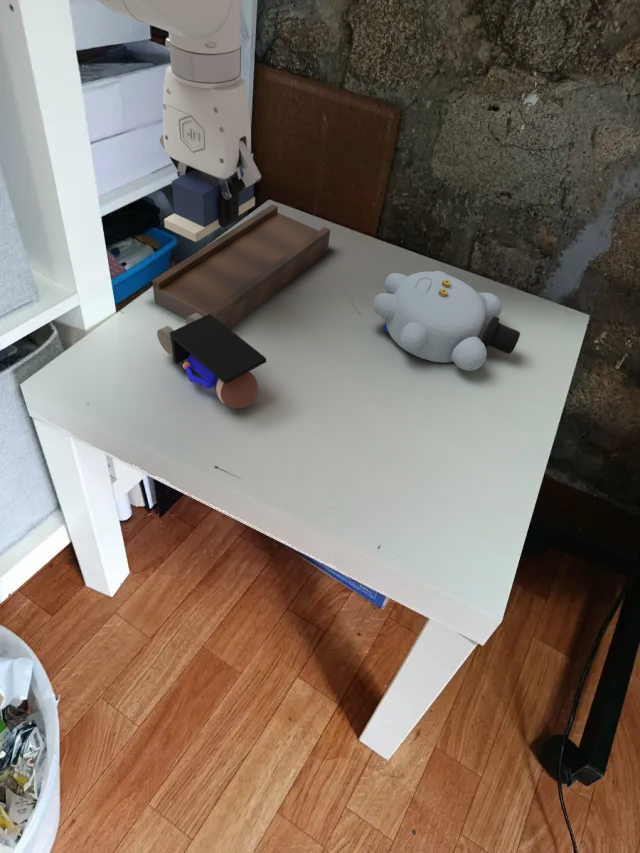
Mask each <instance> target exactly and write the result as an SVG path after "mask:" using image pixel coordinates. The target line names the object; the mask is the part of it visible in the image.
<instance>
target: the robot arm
mask: <svg viewBox="0 0 640 853" xmlns="http://www.w3.org/2000/svg"><path fill="white" fill-rule="evenodd" d="M97 2H98V3H99V4H101V5H102V6H104V7H106V8H107V9H108V10H110V11H112V12H114V13H116V14H118V15H120V16H124V17H126V18H129V19H132V20H134V21H137V22H140V23H144V24H147V25H149V26H152V27H155V28H158V29H160V30H163V31H166V32H168V36H167V37H166V38H165V43H164V45H165V46H164V47H165V49H166V50H168V51H169V56H170V57H169V58H170V65H168V66H167V67H165V73H164V81H163V88H162V90H163V91H162V135H161V137H160V138H159V144H160V145H161V146H162V148H163V150H164V151H165V152H166V154H167V155H168V157H169V159H170V161H171V162H172V164H173V165H174V167H175V169H176V176H177V178H179V177H181V176H183V175H185V174H187V173H189V172H191V171H192V170H194V169H197V170H199V171H202V172H204V173H207V174H209V175H211V176H214V177H216V178H218V180H219V184H220V188H221V192H222V196H220V197H219V198H218V211H219V225H220V226H221V227H220V228H223V229H225V228H226V227H228V226H230V225H231V224H233V223H235V222H237V220H238V218H239V216H240V215H239V193H240V192H242V191H243V190H244V189H246V188H247V187H248V186H250V185H252V184H254V185H255V184H256V183H258V182H259V181H261V180H262V174H261V173H260V171H259V168H258V166H257V165H256V162H255V161H254V158H253V157H252V133H251V132H252V130H251V116H250V115H251V114H250V106H249V98H248V92H247V91H248V90H247V87H246V86H247V85H246V81H245V79H243V78H242V0H97ZM239 167H240V168H241V169H242V171H243V173H244V176H243V177H242V178H241V174H240V169H239ZM230 176H231V180H232V184H231V185H230V182H229V177H230ZM238 215H239V216H238Z"/></svg>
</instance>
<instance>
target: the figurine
mask: <svg viewBox="0 0 640 853" xmlns="http://www.w3.org/2000/svg"><path fill="white" fill-rule="evenodd" d="M383 285H384V286H383V287H384V289H385V292H382V293H378V294H377V295H376V296H375V298H374V301H373V305H372V309H373V311H374V313H375V314H377V315H379V316H380V317H381V318H384V319H385V323H384V325H383V327H382V330H383V331H384V332H386V333H388V334H389V336H390V337H391V339H392V340H393V341H394V342H395V343H396V344H397V345H398V346H399V347H400V348H402V349H403V350H404V351H406V352H407V353H410V354H411V355H413V356H415V357H418V358H420V359H422V360H427V361H430V362H434V363H445V364H447V363H454V364H455V365H456V366H457V367H458V368H460V369H461V370H464V371H467V372H471V371H475V370H479V369H480V368H481V367H482V366H483V365H484V363H485V362H486V359H487V356H488V354H487V353H488V352H487V348H488V347H489V348H492V349H495V350H497V351H500V352H503V353H505V354H507V355H511V354H512V353H513V351H514V349H515V348H516V346H517V344H518V342H519V339H520V336H521V332H520V331H519V330H517V329H514V328H512V327H509V326H507V325H504V324H502V323H500V315H501V313H502V309H503V308H502V307H503V306H502V302H501V300H500V298H498V296H497V295H495V294H493V293H490V292H477V291H476V290H475V289H474V288H473V287H471V286H470V285H469V284H467V283H466V282H464V281H462V280H460V279H458V278H456V277H454V276H451V275H449V274H448V273H446V272H444V271H440V270H434V271H419V272H416V273H413V274H411V275H406V274H403V273H398V272H391V273H390V274H388V276H387V277H386V279H385V282H384V284H383ZM485 325H487V326H486V328H485V330H484V332H483V329H484V326H485ZM482 332H483V335H482V338H481V339H480V338H479V337H480V335H481V333H482Z"/></svg>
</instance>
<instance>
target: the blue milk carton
mask: <svg viewBox="0 0 640 853" xmlns="http://www.w3.org/2000/svg"><path fill="white" fill-rule="evenodd" d="M239 169H240V174H241V178H242V177H243V176H244V173H243V171H242V169H241V168H240V167H239ZM229 182H230V185H231V184H232V180H231V176H230V177H229ZM171 183H172V184H171V185H172V196H173V198H172V199H173V208H174V209H173V211H174V213H172V214H170V215H169V216H167V217H165V218H164V219H163V222H164V228H165V229H167V230H169V231H171V232H173V233H175V234H177V235H180V236H182V237H184V238H186V239H188V240H190V241H192V242H194V243H197V242H198V241H200V240H202V239H204V238H205V237H207V236H208V235H210V234H211V233H213V232H215V231H216V230H218V229H219V228H222V227H221V226H220V225H219V211H218V198H219V197H220V196H222V192H221V188H220V184H219V180H218V178H216V177H214V176H211V175H209V174H207V173H204V172H202V171H199V170H197V169H194V170H192V171H191V172H189V173H187V174H185V175H183V176H181V177H179V178H178V177H177V178H175V179H173V180H171ZM254 188H255V183H254V184H252V185H250V186H248V187H247V188H246V189H244V190H243V191H242V192H240V193H239V215H238V217H239V216H240V215H242V214H244V213H245V212H247V211H248V210H250V209H252V208H254V207H255V206H256V197H255V196H254V193H255V192H254V191H255V190H254Z"/></svg>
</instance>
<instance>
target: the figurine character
mask: <svg viewBox="0 0 640 853" xmlns="http://www.w3.org/2000/svg"><path fill="white" fill-rule="evenodd" d="M185 323H186V324H185V325H182V326H180V327H179V328H177V329H173V328H172V327H171V326H170V325H166V326H163V327H161V328H159V329H158V330H157V332H156V335H157V338H158V339H157V340H158V342H159V343H160V346H161V347H162V349H163V350H164V351H165V353H167V354H168V355H170V356H172V360H173V363H174V364H175V365H178V364H179V365H181V366H182V368H183V369H184V370H185V371H186V374H187V378H188V381H189V382H190V383H191V382H192V383H196V384H198V385H202V386H204V388H205V389H206V390H211V389H212V388H213V387H215V388H216V389H215V390H216V395H217V397H218V399H219V401H220V402H221V403H222V404H223V405H224V406H226V407H227V408H228V407H229V408H231V409H243V408H246V407H248V406H249V405H251V404H252V403H253V402H254V401H255V399H256V397H257V395H258V391H259V384H258V380H257V378H256V377H255V375H254V374H253V373H252V372H251V371H253V370H254V369H256V368H258V367H260V366H262V365H264V364H265V363H267V357H266V356H264V355H263V354H261V353H260V352H259V351H258V350H257V349H255V348H254V347H253V346H251V345H250V344H249V343H248V342H247V341H245V340H244V339H243V338H241V337H240V336H239V335H237V333H235V332H234V331H232V329H230V328H227V327H226V326H225V325H224V324H222V323H221V322H220V321H219V320H217V319H216V318H215V317H214V316H212V315H211V314H208V315H206V316H204V317H202V316H201V315H200V314H198V313H195V314H193V315H190V316H188V317H187V318H186V320H185ZM186 360H187V361H186ZM193 371H194V372H195V373H197V374H198V375H199V376H200V377H199V376H195V375H194V372H193Z"/></svg>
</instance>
